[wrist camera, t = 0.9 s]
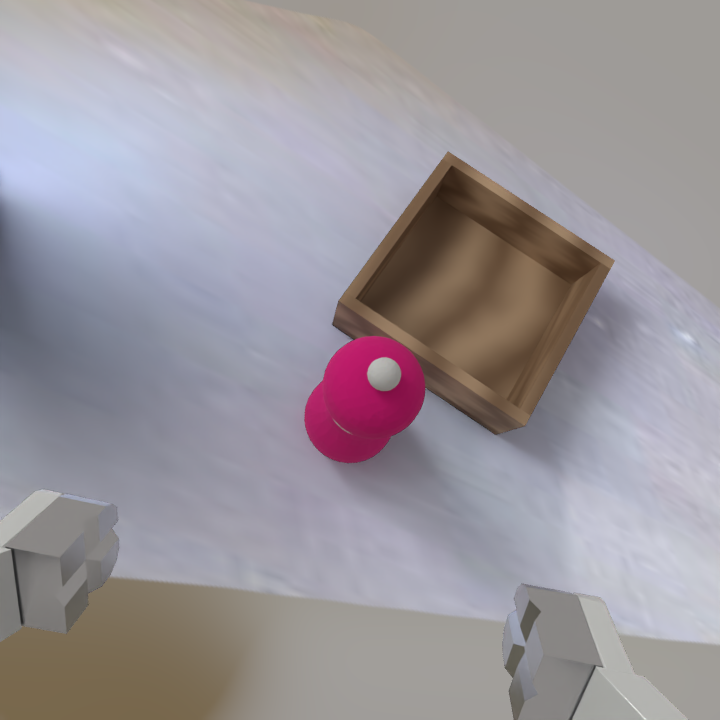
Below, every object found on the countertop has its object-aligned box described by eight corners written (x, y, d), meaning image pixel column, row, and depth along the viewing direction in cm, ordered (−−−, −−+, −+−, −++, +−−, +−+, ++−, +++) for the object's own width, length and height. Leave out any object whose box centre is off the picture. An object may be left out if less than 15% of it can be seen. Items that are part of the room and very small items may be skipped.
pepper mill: (355, 482, 44) (409, 471, 25) (286, 434, 44) (287, 386, 25) (399, 413, 46) (480, 354, 27) (333, 368, 47) (367, 277, 27)
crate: (331, 324, 48) (338, 300, 42) (430, 189, 53) (448, 151, 47) (495, 434, 47) (524, 425, 41) (578, 286, 52) (614, 260, 47)
